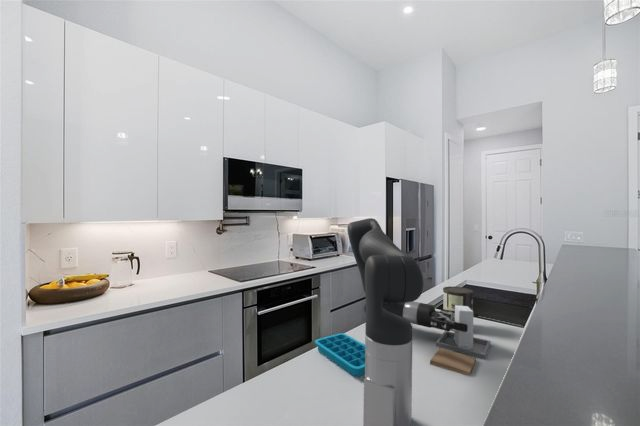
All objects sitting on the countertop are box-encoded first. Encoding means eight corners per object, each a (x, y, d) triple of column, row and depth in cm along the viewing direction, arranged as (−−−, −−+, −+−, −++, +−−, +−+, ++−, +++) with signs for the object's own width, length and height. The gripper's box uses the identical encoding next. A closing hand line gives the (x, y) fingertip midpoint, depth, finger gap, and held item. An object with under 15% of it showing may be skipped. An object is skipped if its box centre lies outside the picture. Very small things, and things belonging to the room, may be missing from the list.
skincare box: (473, 350, 91) (473, 311, 91) (458, 349, 92) (459, 310, 92) (467, 342, 97) (468, 305, 97) (453, 340, 98) (454, 304, 98)
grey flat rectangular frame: (485, 359, 86) (485, 355, 86) (435, 345, 94) (435, 342, 94) (490, 344, 95) (490, 341, 95) (445, 334, 103) (445, 330, 104)
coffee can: (467, 323, 115) (467, 286, 115) (477, 333, 104) (477, 293, 105) (439, 321, 116) (440, 285, 116) (446, 331, 106) (447, 292, 106)
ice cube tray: (342, 341, 97) (342, 332, 97) (388, 368, 80) (388, 357, 80) (312, 350, 90) (312, 340, 90) (355, 381, 74) (355, 369, 74)
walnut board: (469, 376, 76) (469, 372, 76) (430, 364, 82) (430, 360, 82) (476, 361, 84) (476, 357, 84) (439, 351, 90) (439, 347, 90)
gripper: (412, 307, 97) (465, 318, 88) (425, 298, 109) (474, 307, 99) (411, 330, 97) (465, 343, 88) (425, 318, 109) (473, 329, 99)
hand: (470, 324), depth 93 cm, fingers open, 8 cm apart
